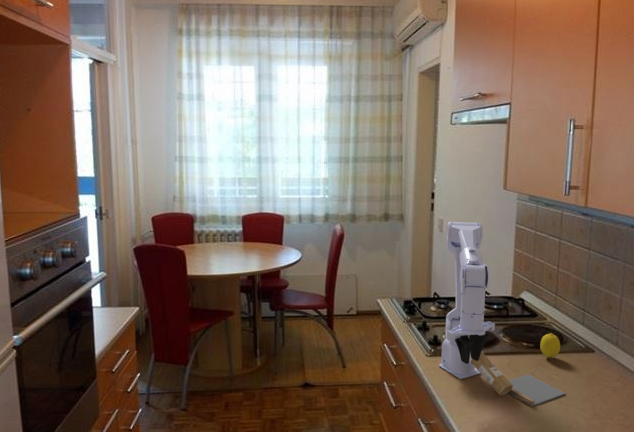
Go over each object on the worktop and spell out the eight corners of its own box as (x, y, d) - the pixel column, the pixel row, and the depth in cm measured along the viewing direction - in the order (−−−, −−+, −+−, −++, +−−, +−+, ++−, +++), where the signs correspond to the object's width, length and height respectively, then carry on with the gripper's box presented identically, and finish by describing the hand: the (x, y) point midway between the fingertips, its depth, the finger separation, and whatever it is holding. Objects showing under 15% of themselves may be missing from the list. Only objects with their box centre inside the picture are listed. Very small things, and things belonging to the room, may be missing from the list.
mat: (495, 386, 141) (495, 381, 141) (528, 375, 147) (528, 370, 147) (531, 406, 131) (531, 401, 130) (565, 394, 137) (565, 389, 136)
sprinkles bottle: (512, 382, 133) (478, 344, 143) (498, 392, 133) (465, 354, 142) (514, 389, 136) (480, 351, 146) (500, 399, 136) (467, 361, 146)
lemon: (542, 352, 162) (544, 328, 161) (561, 357, 159) (563, 332, 157) (537, 358, 158) (538, 333, 156) (556, 363, 154) (558, 338, 153)
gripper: (461, 320, 124) (459, 373, 126) (505, 311, 131) (501, 361, 133) (442, 311, 130) (440, 361, 133) (484, 302, 137) (481, 350, 139)
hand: (469, 360), depth 133 cm, fingers open, 3 cm apart
